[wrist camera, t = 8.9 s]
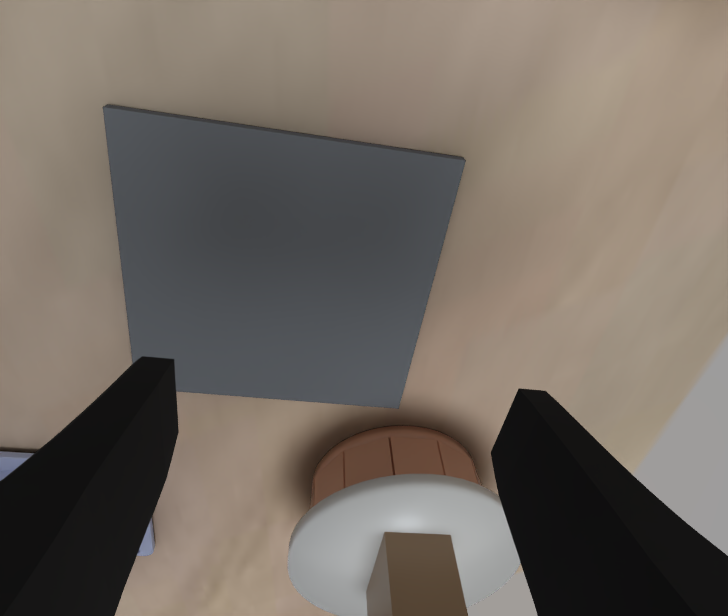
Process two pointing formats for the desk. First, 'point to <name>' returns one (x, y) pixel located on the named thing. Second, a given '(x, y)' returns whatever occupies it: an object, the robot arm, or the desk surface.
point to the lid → (403, 547)
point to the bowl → (390, 458)
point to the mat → (276, 255)
